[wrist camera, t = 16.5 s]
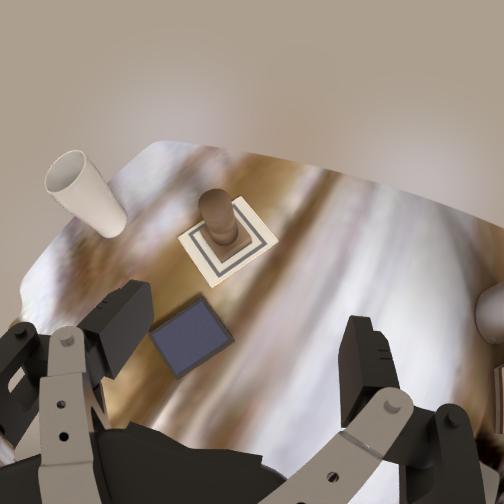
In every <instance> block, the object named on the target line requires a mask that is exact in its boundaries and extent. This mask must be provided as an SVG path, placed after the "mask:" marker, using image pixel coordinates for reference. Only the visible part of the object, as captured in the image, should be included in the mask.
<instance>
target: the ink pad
mask: <svg viewBox="0 0 504 504" xmlns="http://www.w3.org/2000/svg"><path fill="white" fill-rule="evenodd" d="M148 335H149V337H150V338H151V340H152V342H153V343H154V345H155V347H156V348H157V350H158V352H159V353H160V355H161V357H162V358H163V360H164V361H165V363H166V365H167V366H168V368H169V369H170V371H171V372H172V374H173V375H174V377H175V378H176V379H179V378H181V377H183V376H184V375H186V374H187V373H189V372H190V371H192V370H193V369H195V368H196V367H198V366H199V365H201V364H202V363H204V362H205V361H207V360H208V359H210V358H211V357H213V356H214V355H216V354H217V353H219V352H220V351H222V350H223V349H225V348H226V347H227V346H229V345H230V344H232V343H233V342H235V340H234V339H233V338H232V336H231V335H230V333H229V332H228V331H227V329H226V328H225V326H224V325H223V324H222V322H221V321H220V319H219V318H218V316H217V315H216V314H215V312H214V311H213V309H212V308H211V306H210V305H209V303H208V302H207V301H206V299H205V298H204V297H201V298H200V299H198V300H197V301H195V302H194V303H192V304H191V305H190V306H188V307H187V308H185V309H184V310H182V311H181V312H179V313H178V314H177V315H175V316H174V317H172V318H171V319H169V320H168V321H166V322H165V323H164V324H162V325H161V326H159V327H158V328H156V329H155V330H153V331H152V332H150V333H149V334H148Z"/></svg>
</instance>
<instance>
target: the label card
mask: <svg viewBox="0 0 504 504" xmlns="http://www.w3.org/2000/svg"><path fill="white" fill-rule="evenodd" d="M232 206H233V210H234V214H235V217H236V218H237V219H238V220H239V222H240V223H241V224H242V225H243V227H244V228H245V229H246V230H247V232H248V233H249V234H250V235H251V238H252V244H250V245H249V246H247V247H246V248H244V249H243V250H241V251H240V252H238V253H237V254H235V255H234V256H233V257H231V258H230V259H228V260H227V261H225V262H224V263H221V262H220V261H219V259H218V258H217V256H216V255H215V254H214V252H213V251H212V250H211V248H210V247H209V245H208V244H207V242H206V241H205V240H204V238H203V237H202V235H201V233H200V231H199V230H200V229H201V228H203V227H204V226H206V224H205V221H204V220H203V221H201V222H200V223H198V224H197V225H196V226H194V227H193V228H191V229H190V230H188V231H187V232H185V233H184V234H182V235H181V236H179V237H178V239H179V240H180V242H181V243H182V245H183V246H184V248H185V249H186V251H187V253H188V254H189V256H190V257H191V258H192V260H193V261H194V263H195V264H196V266H197V267H198V269H199V270H200V272H201V273H202V275H203V276H204V278H205V279H206V281H207V282H208V283H209V285H210V286H211V288H213V287H214V286H216V285H217V284H219V283H220V282H221V281H223V280H224V279H226V278H227V277H229V276H230V275H231V274H233V273H234V272H236V271H237V270H239V269H240V268H241V267H243V266H244V265H246V264H247V263H249V262H250V261H251V260H253V259H254V258H256V257H257V256H259V255H260V254H261V253H263V252H264V251H266V250H267V249H269V248H270V247H271V246H273V245H274V244H276V243H277V242H279V241H278V239H277V238H276V237H275V236H274V235H273V233H272V232H271V231H270V230H269V229H268V227H267V226H266V225H265V224H264V223H263V222H262V220H261V219H260V218H259V217H258V216H257V214H256V213H255V212H254V211H253V210H252V209H251V207H250V206H249V205H248V204H247V203H246V202H245V200H244V199H243V198H242V197H241V196H240V197H238V198H237V199H235V200H234V201H232Z"/></svg>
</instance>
